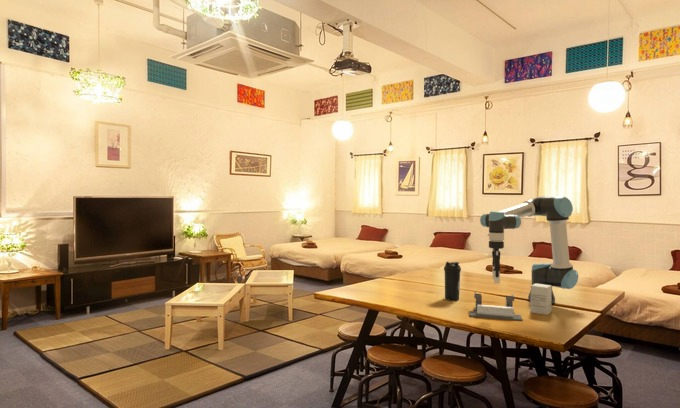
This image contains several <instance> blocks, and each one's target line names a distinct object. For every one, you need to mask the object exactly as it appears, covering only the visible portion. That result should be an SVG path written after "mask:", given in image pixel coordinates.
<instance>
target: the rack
mask: <svg viewBox="0 0 680 408" xmlns="http://www.w3.org/2000/svg"><path fill="white" fill-rule="evenodd" d="M473 294H474V295H473V297H474V299H475V306H474V307H473V311H475V312H477V305H483V303H482V297H483V296H482V294H481V293H477V292H476V291H474V292H473ZM513 302H515V295H514V293H511V295H505V307H513ZM513 308H514V307H513Z"/></svg>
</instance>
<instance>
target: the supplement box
mask: <svg viewBox="0 0 680 408" xmlns="http://www.w3.org/2000/svg"><path fill="white" fill-rule="evenodd" d="M530 290H531V301H530V309H529V310H530V313H532V314H539V315H545V316H548V315H550V314H551V313H552V303H551V295H552V290H553V286H551V285H544V284H537V283H535V284H533V285H532V284H531V285H530Z"/></svg>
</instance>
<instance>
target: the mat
mask: <svg viewBox="0 0 680 408" xmlns="http://www.w3.org/2000/svg"><path fill="white" fill-rule="evenodd" d="M468 314H469V315H468V316H469V317H470V318H481V319H492V320H493V319H495V320H504V321H505V320H507V321H517V322H518V321H519V322H523V321H524V320H523V318H522V315H521V314H514V317H503V316H490V315H478V314H477V311H474V310H468Z"/></svg>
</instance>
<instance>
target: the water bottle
mask: <svg viewBox="0 0 680 408" xmlns="http://www.w3.org/2000/svg"><path fill="white" fill-rule="evenodd" d="M443 270H444V271H443V272H444V300H446V301H453V302H454V301H455V302H456V301H459V300H460V290H461V289H460V286H461V271H462V267H461V266H460V262H459V261H452V262H450V261H446V262H445V265H444V267H443Z"/></svg>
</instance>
